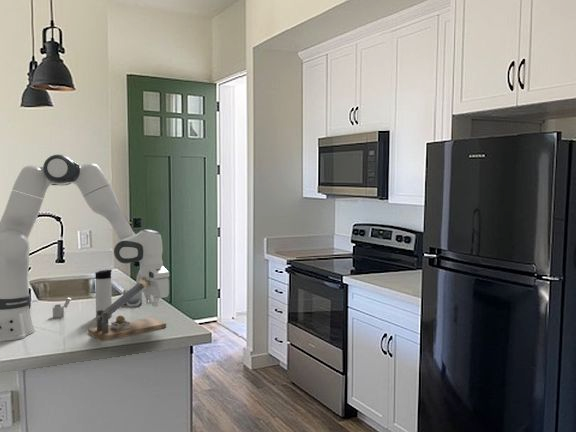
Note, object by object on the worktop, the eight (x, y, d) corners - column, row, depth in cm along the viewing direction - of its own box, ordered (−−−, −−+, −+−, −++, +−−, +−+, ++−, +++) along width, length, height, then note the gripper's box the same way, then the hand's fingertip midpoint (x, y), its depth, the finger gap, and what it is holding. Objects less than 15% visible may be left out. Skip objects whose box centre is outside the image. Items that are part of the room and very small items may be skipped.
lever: (104, 324, 193) (98, 316, 191) (99, 322, 196) (93, 314, 194) (153, 284, 205) (148, 276, 203) (148, 282, 208) (143, 274, 206)
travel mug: (107, 319, 216) (106, 271, 214) (93, 318, 217) (92, 270, 216) (115, 315, 222) (114, 268, 220) (101, 314, 223) (100, 268, 222)
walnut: (118, 325, 197) (118, 317, 197) (114, 323, 199) (114, 315, 199) (126, 324, 199) (126, 315, 199) (122, 322, 201) (122, 314, 201)
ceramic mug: (123, 302, 245) (122, 286, 244) (141, 301, 248) (141, 285, 247) (124, 308, 235) (124, 291, 234) (143, 306, 238) (143, 290, 237)
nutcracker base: (101, 340, 188) (101, 316, 187) (88, 333, 197) (87, 309, 196) (166, 327, 206) (165, 304, 205) (151, 320, 214) (151, 299, 214)
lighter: (52, 317, 218) (52, 298, 217) (53, 316, 219) (52, 298, 219) (71, 316, 220) (70, 297, 219) (71, 315, 222) (71, 296, 221)
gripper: (131, 268, 212) (132, 301, 213) (156, 275, 197) (157, 311, 198) (146, 266, 216) (146, 299, 217) (171, 273, 201) (172, 308, 202)
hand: (152, 305), depth 208 cm, fingers open, 3 cm apart
